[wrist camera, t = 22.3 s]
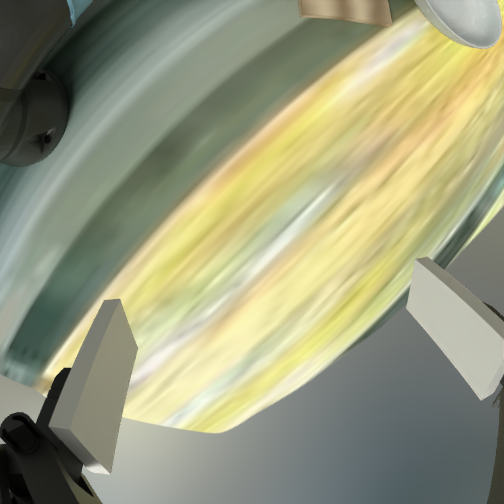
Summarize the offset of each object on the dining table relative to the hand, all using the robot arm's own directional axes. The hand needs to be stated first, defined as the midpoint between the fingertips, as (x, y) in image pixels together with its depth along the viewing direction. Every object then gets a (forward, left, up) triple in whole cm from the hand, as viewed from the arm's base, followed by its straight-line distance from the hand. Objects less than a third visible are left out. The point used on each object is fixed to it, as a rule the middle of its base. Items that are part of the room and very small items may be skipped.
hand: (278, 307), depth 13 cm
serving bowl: (+38, +32, -32) cm, 59 cm away
